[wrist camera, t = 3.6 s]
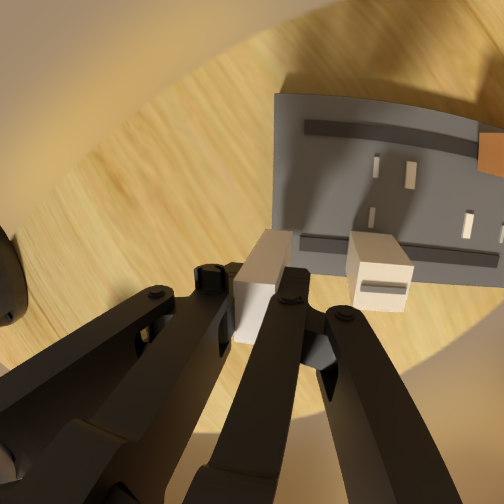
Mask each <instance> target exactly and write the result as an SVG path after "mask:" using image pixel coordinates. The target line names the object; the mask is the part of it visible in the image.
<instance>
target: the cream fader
mask: <svg viewBox="0 0 504 504" xmlns="http://www.w3.org/2000/svg"><path fill="white" fill-rule="evenodd" d="M345 269H346V275H347V280H348V286H349V293H350V299H351V305H352V307H354V308H356V309H358V310H371V311H387V312H403V311H404V308H405V304H406V300H407V296H408V292H409V288H410V283H411V279H412V275H413V270H414V265H413V264H412V262H411V261H410V259H409V258H408V256H407V255H406V253H405V252H404V251H403V249H402V248H401V246H400V245H399V244H398V242H397V241H396V240H395V238H394V237H393V235H390V234H380V233H369V232H359V231H350V236H349V245H348V253H347V261H346V268H345Z"/></svg>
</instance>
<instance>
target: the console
mask: <svg viewBox="0 0 504 504" xmlns="http://www.w3.org/2000/svg"><path fill="white" fill-rule="evenodd" d="M479 133H504V129H501V128H498V127H495V126H492V125H489V124H486V123H482V122H479V121H475V120H472V119H468V118H464V117H461V116H457V115H453V114H449V113H444V112H440V111H435V110H431V109H426V108H421V107H416V106H410V105H405V104H399V103H392V102H386V101H379V100H371V99H363V98H353V97H343V96H331V95H315V94H286V93H274V165H273V208H272V230H282V231H293V235H292V252H291V267H297V268H307V270H308V271H309V272H310V273H311V274H320V275H332V276H344V277H347V275H346V269H345V268H346V261H347V253H348V245H349V236H350V231H359V232H369V233H380V234H390V235H393V237H394V238H395V240H396V241H397V242H398V244H399V245H400V246H401V248H402V249H403V251H404V252H405V253H406V255H407V256H408V258H409V259H410V261H411V262H412V264H413V265H414V270H413V275H412V279H411V282H422V283H436V284H451V285H466V286H483V287H500V288H504V178H502V177H498V176H495V175H491V174H487V173H483V172H479V171H477V169H478V155H479Z"/></svg>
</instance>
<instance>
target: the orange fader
mask: <svg viewBox="0 0 504 504" xmlns="http://www.w3.org/2000/svg"><path fill="white" fill-rule="evenodd" d="M477 171H479V172H483V173H487V174H491V175H495V176H498V177H502V178H504V133H479V155H478V169H477Z"/></svg>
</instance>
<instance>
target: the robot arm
mask: <svg viewBox="0 0 504 504" xmlns="http://www.w3.org/2000/svg"><path fill="white" fill-rule="evenodd" d="M292 235H293V231H282V230H269V229H265V231H264V233H263V234H262V236H261V237H260V239H259V240H258V242H257V244H256V245H255V247H254V248H253V250H252V251H251V253H250V255H249V256H248V258H247V259H246V261H245V262H244V263H235V262H231V263H229V264H227V265H225V266H223V265H219V264H205V265H201V266H198V267H196V268H195V269H194V276H195V290H194V291H193V293H192V294H191V295H190V296H189V297H174V291H173V289H172V288H170V287H168V286H163V285H155V286H152V287H148V288H146V289H144V290H142V291H140V292H139V293H137V294H135V295H134V296H132V297H130V298H129V299H127V300H125V301H124V302H122V303H120V304H118V305H117V306H115V307H113V308H112V309H110V310H108V311H107V312H105V313H103V314H102V315H100V316H98V317H97V318H95V319H93V320H92V321H90V322H88V323H87V324H85V325H83V326H82V327H80V328H78V329H77V330H75V331H74V332H72V333H70V334H69V335H67V336H65V337H64V338H62V339H60V340H59V341H57V342H56V343H54V344H52V345H51V346H49V347H48V348H46V349H44V350H43V351H41V352H39V353H38V354H36V355H35V356H33V357H31V358H30V359H28V360H27V361H25V362H23V363H22V364H20V365H19V366H17V367H16V368H14V369H12V370H11V371H9V372H8V373H6V374H5V375H3V376H1V377H0V504H164V495H165V490H166V487H167V485H168V483H169V481H170V479H171V477H172V474H173V472H174V470H175V468H176V466H177V464H178V462H179V460H180V458H181V456H182V454H183V451H184V449H185V447H186V445H187V443H188V441H189V439H190V437H191V435H192V433H193V430H194V428H195V426H196V424H197V422H198V420H199V418H200V415H201V413H202V411H203V409H204V407H205V405H206V403H207V400H208V398H209V396H210V394H211V392H212V390H213V387H214V385H215V383H216V381H217V379H218V376H219V374H220V372H221V370H222V368H223V365H224V363H225V361H226V359H227V357H228V354H229V352H230V350H231V337H232V335H233V333H234V342H240V343H246V344H253V345H254V346H253V349H252V352H251V354H250V357H249V360H248V363H247V365H246V368H245V371H244V373H243V376H242V379H241V381H240V384H239V387H238V389H237V392H236V395H235V397H234V400H233V403H232V405H231V408H230V410H229V413H228V416H227V418H226V421H225V423H224V426H223V428H222V431H221V434H220V436H219V439H218V441H217V444H216V446H215V449H214V451H213V454H212V456H211V459H210V461H209V462H208V463H207V464H206V465H202V466H201V467H200V468H199V469H198V471H197V472H196V474H195V476H194V478H193V480H192V482H191V485H190V487H189V489H188V491H187V494H186V496H185V498H184V500H183V503H182V504H273V502H274V498H275V494H276V490H277V485H278V480H279V475H280V471H281V466H282V462H283V457H284V452H285V447H286V442H287V437H288V431H289V426H290V420H291V415H292V409H293V403H294V397H295V391H296V385H297V379H298V373H299V366H300V363H301V364H304V365H307V366H310V367H312V368H315V369H316V376H317V379H318V383H319V387H320V390H321V394H322V398H323V402H324V405H325V409H326V413H327V417H328V421H329V424H330V428H331V432H332V436H333V440H334V444H335V448H336V452H337V456H338V460H339V464H340V468H341V472H342V476H343V481H344V485H345V489H346V493H347V498H348V502H349V504H463V503H462V501H461V499H460V496H459V494H458V492H457V489H456V487H455V485H454V483H453V480H452V478H451V476H450V474H449V471H448V469H447V467H446V465H445V463H444V461H443V459H442V457H441V455H440V452H439V450H438V448H437V446H436V445H435V442H434V440H433V438H432V436H431V434H430V432H429V430H428V428H427V426H426V424H425V422H424V420H423V419H422V417H421V415H420V413H419V411H418V409H417V407H416V405H415V404H414V402H413V400H412V398H411V396H410V394H409V392H408V390H407V389H406V387H405V385H404V383H403V381H402V380H401V378H400V376H399V374H398V372H397V371H396V369H395V367H394V365H393V364H392V362H391V360H390V358H389V357H388V355H387V353H386V351H385V350H384V348H383V346H382V345H381V343H380V341H379V339H378V338H377V336H376V334H375V333H374V331H373V329H372V328H371V326H370V324H369V323H368V321H367V319H366V318H365V316H364V315H363V313H362V312H361V311H360V310H358V309H356V308H354V307H352V306H348V305H338V306H333V307H331V308H329V309H328V310H327V311H326V313H323V312H320V311H317V310H315V309H314V308H312V307H311V306H310V305H309V303H308V294H309V284H310V274H311V273H310V272H309V271H308V270H307V268H297V267H291V252H292ZM26 310H27V290H26V285H25V280H24V276H23V273H22V270H21V266H20V264H19V261H18V258H17V256H16V253H15V251H14V249H13V246H12V244H11V242H10V240H9V239H8V237H7V235H6V233H5V232H4V230H3V229H2V227H1V226H0V327H4V326H8V325H11V324H13V323H15V322H16V321H17V320H19V319H20V318H22V317H23V316H24V315H25V313H26ZM144 328H146V331H147V336H148V338H146V339H145V340H142V338H141V334H140V331H142V330H143V329H144ZM21 478H22V479H21ZM18 479H20V480H18Z"/></svg>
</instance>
